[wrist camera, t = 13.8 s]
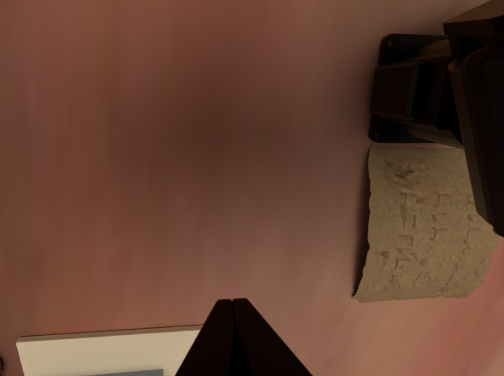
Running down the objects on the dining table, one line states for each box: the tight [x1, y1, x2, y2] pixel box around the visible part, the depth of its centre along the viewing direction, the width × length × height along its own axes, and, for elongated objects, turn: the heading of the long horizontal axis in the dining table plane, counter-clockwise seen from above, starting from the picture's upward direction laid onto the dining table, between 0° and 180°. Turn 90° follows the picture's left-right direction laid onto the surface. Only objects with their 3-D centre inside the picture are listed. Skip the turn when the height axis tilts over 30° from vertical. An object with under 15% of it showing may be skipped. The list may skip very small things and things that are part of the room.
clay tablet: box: [352, 146, 499, 302], centre depth 23 cm, size 14×10×3 cm
